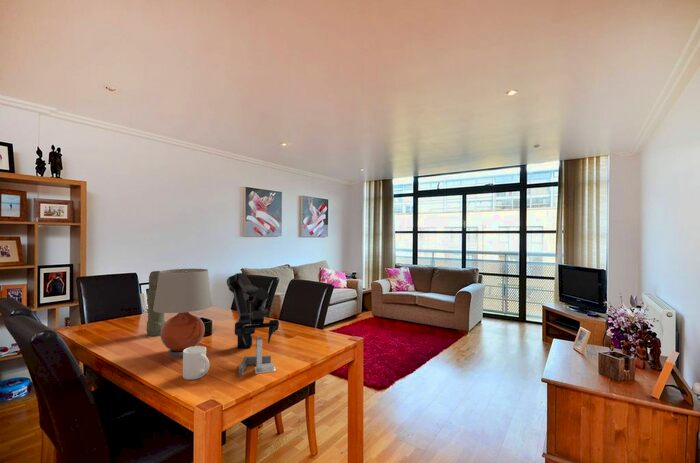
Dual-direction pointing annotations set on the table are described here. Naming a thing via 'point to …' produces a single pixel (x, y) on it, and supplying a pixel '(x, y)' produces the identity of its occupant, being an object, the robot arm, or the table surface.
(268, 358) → the corner wall
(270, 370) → the plate
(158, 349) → the table surface
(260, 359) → the bracket
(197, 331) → the lamp
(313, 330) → the table surface
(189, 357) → the mug
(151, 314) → the thermos
